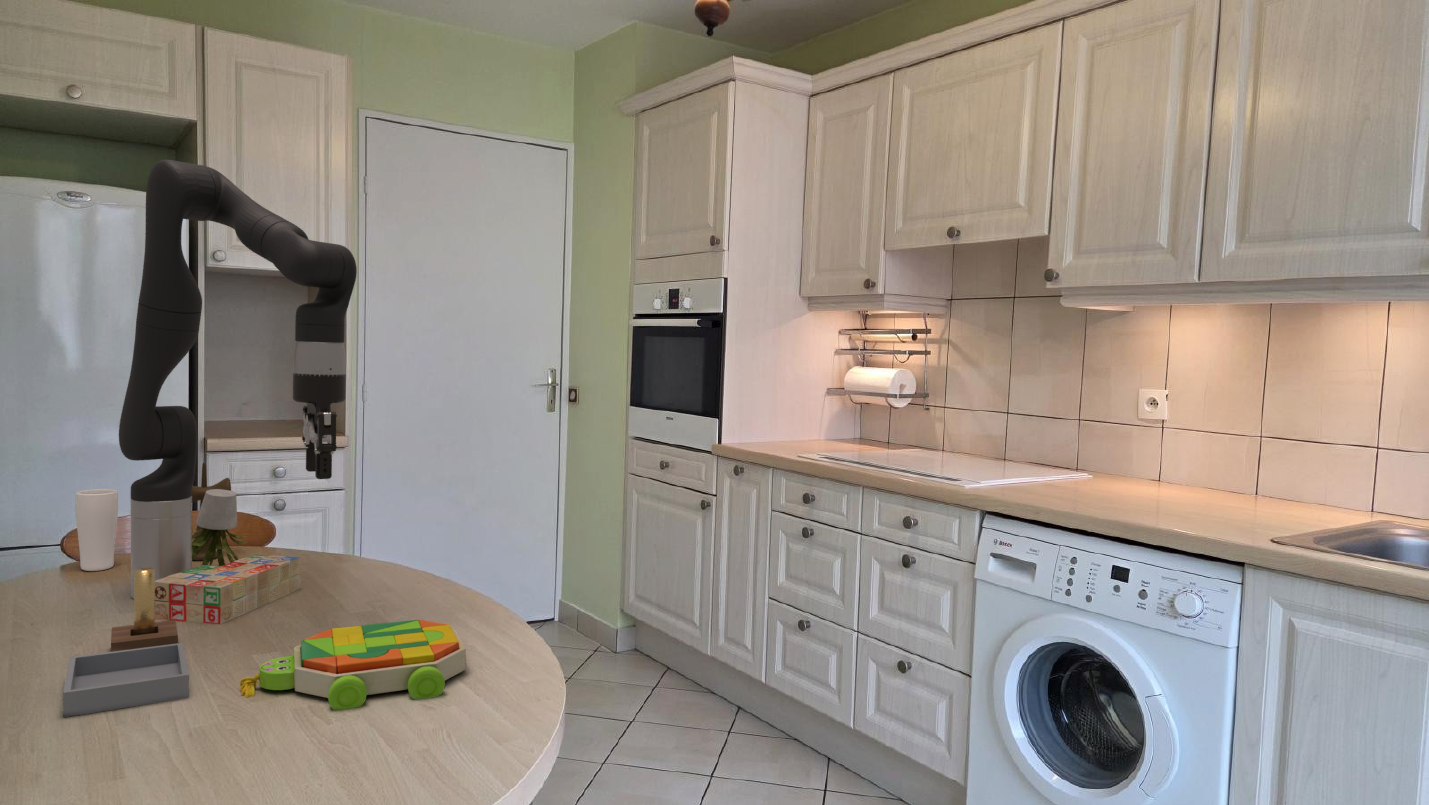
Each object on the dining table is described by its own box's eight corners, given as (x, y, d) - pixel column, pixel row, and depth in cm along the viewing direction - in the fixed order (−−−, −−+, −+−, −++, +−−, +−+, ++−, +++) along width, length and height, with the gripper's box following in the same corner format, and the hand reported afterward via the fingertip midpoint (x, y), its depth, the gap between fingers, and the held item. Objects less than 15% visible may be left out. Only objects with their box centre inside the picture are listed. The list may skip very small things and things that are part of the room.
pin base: (111, 647, 133) (111, 627, 132) (175, 639, 137) (175, 620, 137) (110, 664, 126) (110, 643, 126) (177, 655, 130) (177, 635, 130)
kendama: (231, 560, 185) (232, 463, 184) (177, 565, 180) (177, 465, 179) (229, 554, 190) (229, 459, 189) (175, 558, 185) (175, 461, 184)
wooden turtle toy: (243, 668, 127) (243, 629, 127) (448, 646, 139) (449, 611, 139) (235, 729, 108) (235, 684, 107) (474, 698, 120) (475, 657, 119)
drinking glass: (89, 564, 178) (88, 488, 177) (125, 564, 179) (125, 489, 178) (67, 572, 172) (67, 494, 171) (105, 573, 172) (105, 495, 171)
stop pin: (134, 650, 132) (134, 568, 131) (154, 647, 133) (154, 567, 132) (134, 655, 130) (134, 572, 129) (154, 652, 131) (154, 571, 130)
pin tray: (69, 679, 120) (69, 657, 120) (183, 663, 127) (183, 642, 127) (63, 717, 108) (63, 693, 108) (188, 698, 115) (188, 674, 115)
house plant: (265, 507, 169) (253, 591, 171) (272, 489, 182) (260, 567, 183) (178, 500, 164) (166, 586, 165) (191, 481, 176) (180, 561, 178)
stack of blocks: (301, 590, 165) (240, 585, 167) (301, 556, 165) (240, 552, 167) (219, 625, 144) (150, 619, 146) (219, 587, 144) (150, 581, 146)
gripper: (355, 374, 137) (353, 480, 138) (336, 369, 149) (334, 467, 150) (301, 373, 133) (299, 482, 134) (286, 368, 145) (285, 469, 146)
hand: (318, 474), depth 142 cm, fingers open, 8 cm apart
